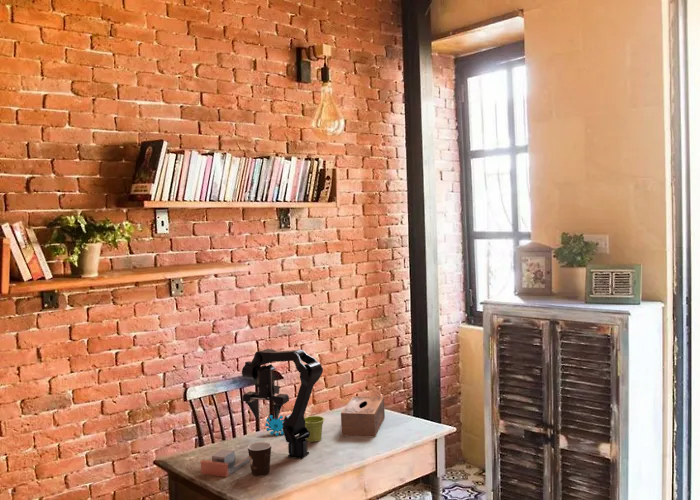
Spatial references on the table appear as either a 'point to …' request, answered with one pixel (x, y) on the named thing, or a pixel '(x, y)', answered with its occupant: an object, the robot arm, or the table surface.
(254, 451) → the coffee mug
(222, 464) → the channel
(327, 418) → the table surface
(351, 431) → the tissue box cover
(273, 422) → the blue spiky piece
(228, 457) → the metal box with button
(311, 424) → the plant pot
